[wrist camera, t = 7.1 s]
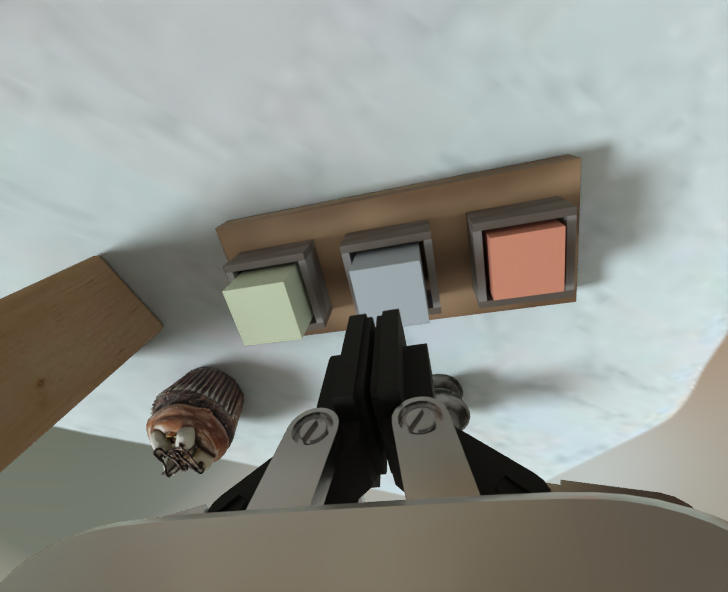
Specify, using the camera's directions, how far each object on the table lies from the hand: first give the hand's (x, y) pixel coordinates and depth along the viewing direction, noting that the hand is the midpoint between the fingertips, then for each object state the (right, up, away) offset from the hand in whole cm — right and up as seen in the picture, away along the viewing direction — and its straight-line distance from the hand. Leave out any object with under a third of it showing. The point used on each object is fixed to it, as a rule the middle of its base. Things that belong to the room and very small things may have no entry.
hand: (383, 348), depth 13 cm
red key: (+12, +6, +18) cm, 22 cm away
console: (+2, +6, +22) cm, 23 cm away
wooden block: (-30, 0, +29) cm, 42 cm away
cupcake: (-19, -10, +33) cm, 39 cm away
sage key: (-8, +2, +20) cm, 21 cm away
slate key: (+2, +3, +18) cm, 18 cm away
